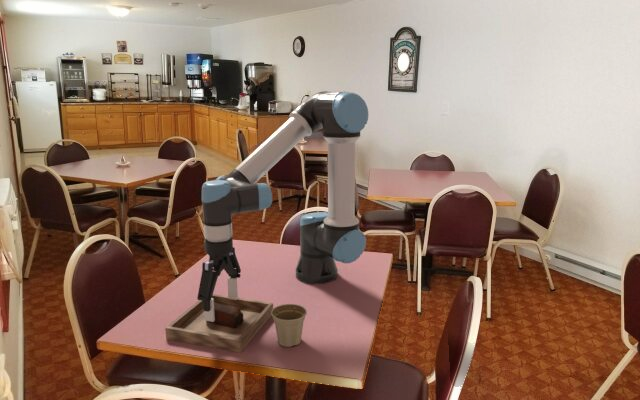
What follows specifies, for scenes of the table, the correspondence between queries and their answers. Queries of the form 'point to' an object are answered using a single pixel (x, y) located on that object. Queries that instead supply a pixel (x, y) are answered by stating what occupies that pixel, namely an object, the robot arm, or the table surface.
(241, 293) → the table surface
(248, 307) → the tray
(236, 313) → the brick
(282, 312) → the flower pot
